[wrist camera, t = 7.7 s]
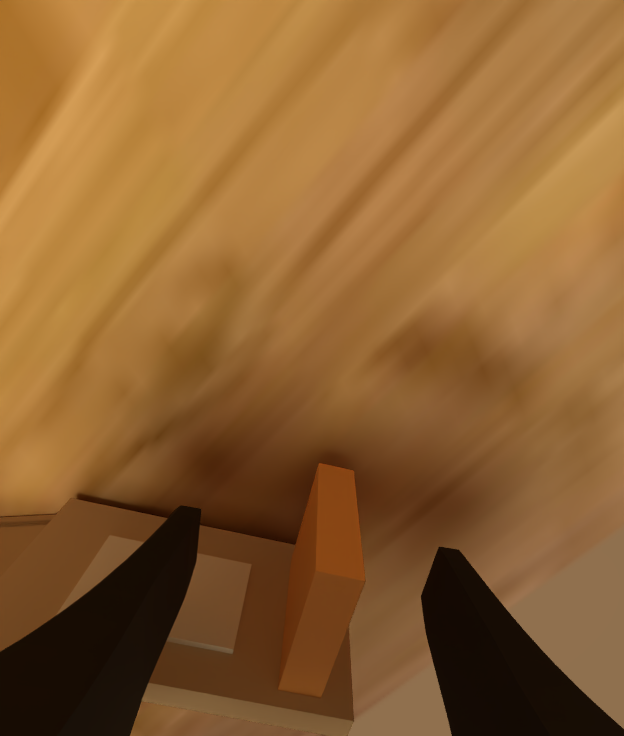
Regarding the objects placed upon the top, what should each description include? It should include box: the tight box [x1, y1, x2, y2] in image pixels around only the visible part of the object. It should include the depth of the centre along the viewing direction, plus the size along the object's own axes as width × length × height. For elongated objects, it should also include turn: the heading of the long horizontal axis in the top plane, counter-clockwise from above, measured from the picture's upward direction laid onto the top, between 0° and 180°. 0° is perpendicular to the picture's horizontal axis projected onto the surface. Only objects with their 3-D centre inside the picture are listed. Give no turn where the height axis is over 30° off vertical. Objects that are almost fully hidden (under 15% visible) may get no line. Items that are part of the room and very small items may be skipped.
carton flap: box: [0, 463, 365, 736], centre depth 13 cm, size 11×5×6 cm, turn 77°
